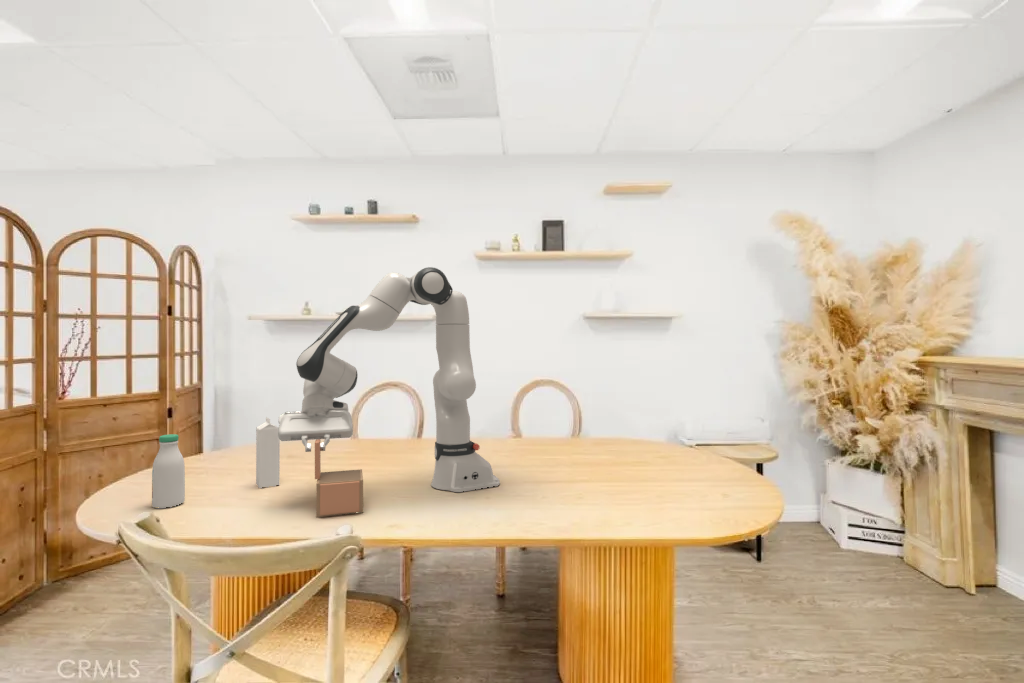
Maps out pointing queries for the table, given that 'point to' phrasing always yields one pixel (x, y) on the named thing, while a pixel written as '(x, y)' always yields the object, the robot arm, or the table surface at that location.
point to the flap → (317, 459)
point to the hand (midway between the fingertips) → (315, 450)
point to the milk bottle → (168, 474)
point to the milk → (267, 455)
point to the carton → (339, 493)
